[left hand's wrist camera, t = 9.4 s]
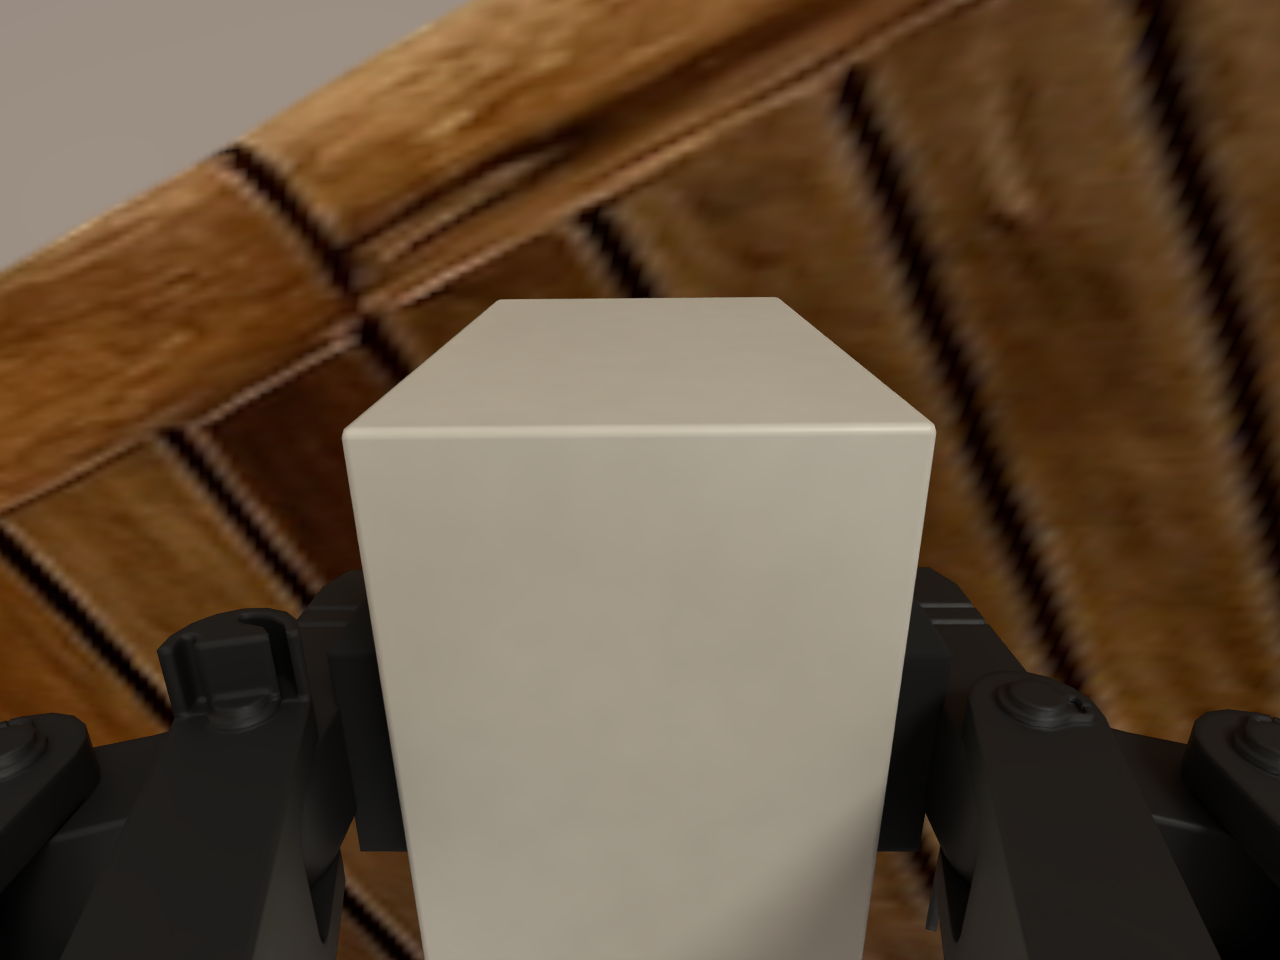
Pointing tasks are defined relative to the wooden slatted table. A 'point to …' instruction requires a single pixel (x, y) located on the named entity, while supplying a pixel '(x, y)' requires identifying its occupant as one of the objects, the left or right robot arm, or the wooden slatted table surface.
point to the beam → (640, 627)
